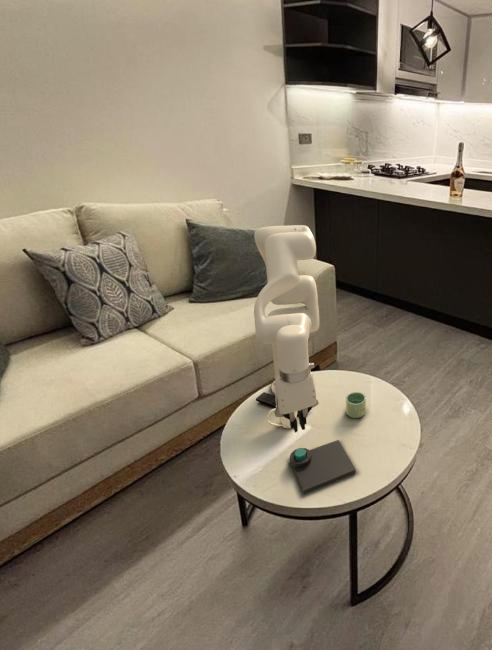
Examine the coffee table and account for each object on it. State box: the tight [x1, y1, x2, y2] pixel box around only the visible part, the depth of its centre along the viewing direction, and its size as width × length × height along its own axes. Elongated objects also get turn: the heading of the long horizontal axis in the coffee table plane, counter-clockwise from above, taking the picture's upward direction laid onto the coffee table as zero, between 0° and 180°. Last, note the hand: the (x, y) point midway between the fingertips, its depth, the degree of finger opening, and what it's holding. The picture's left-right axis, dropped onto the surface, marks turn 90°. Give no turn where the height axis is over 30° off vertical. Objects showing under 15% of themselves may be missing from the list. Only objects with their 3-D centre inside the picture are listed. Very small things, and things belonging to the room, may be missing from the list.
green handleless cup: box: [345, 391, 367, 419], centre depth 137 cm, size 7×7×6 cm
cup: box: [266, 405, 298, 429], centre depth 130 cm, size 7×10×8 cm
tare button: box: [295, 448, 306, 461], centre depth 116 cm, size 3×3×2 cm
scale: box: [289, 439, 357, 495], centre depth 116 cm, size 14×16×3 cm
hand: (298, 427), depth 112 cm, fingers closed
